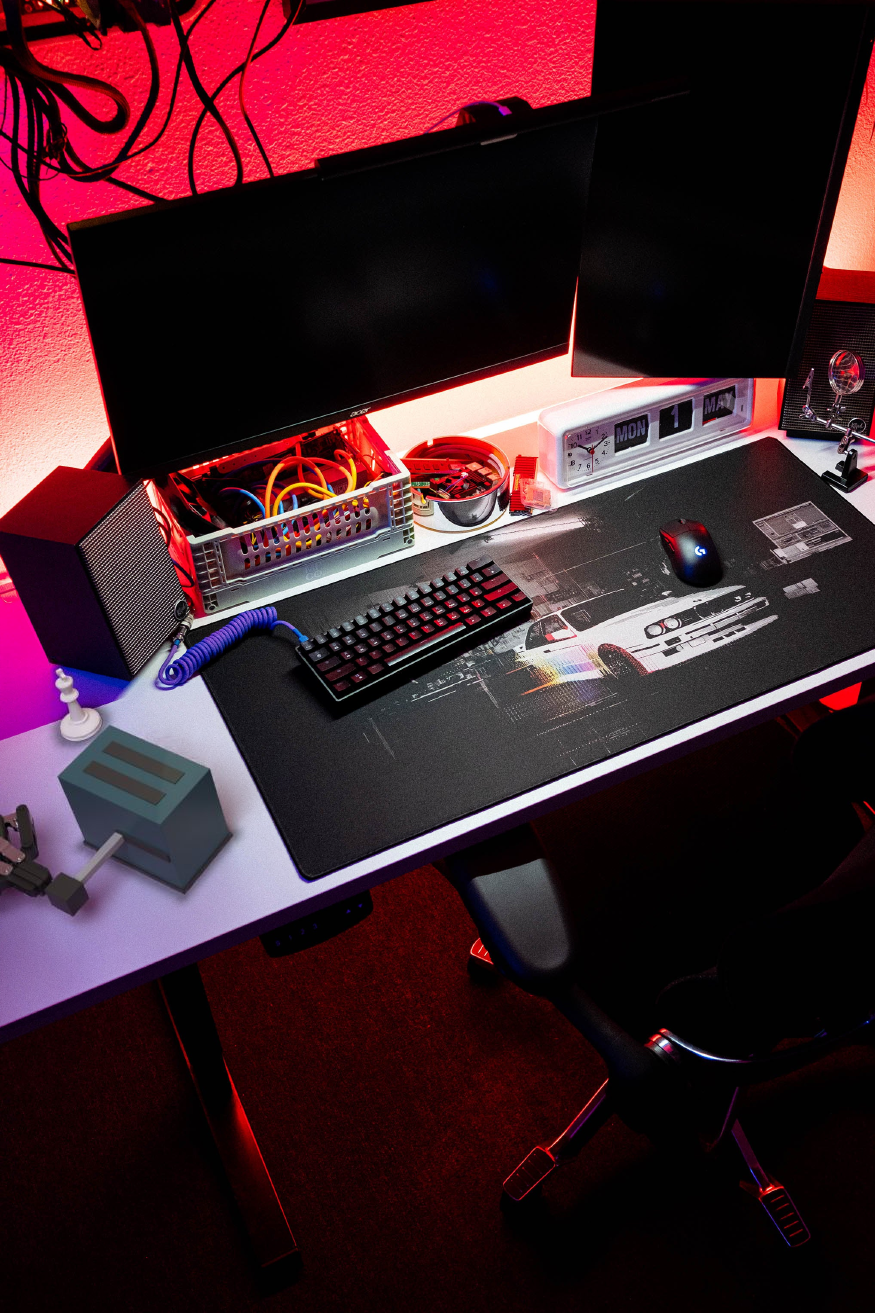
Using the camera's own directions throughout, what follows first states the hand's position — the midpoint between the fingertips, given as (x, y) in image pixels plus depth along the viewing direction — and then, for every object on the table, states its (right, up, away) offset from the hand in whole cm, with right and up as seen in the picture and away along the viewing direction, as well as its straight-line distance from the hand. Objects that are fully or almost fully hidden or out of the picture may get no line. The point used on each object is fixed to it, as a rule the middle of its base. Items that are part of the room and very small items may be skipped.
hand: (47, 886), depth 116 cm
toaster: (+8, +2, +11) cm, 14 cm away
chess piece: (-6, +12, +25) cm, 28 cm away
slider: (+4, 0, +2) cm, 5 cm away
